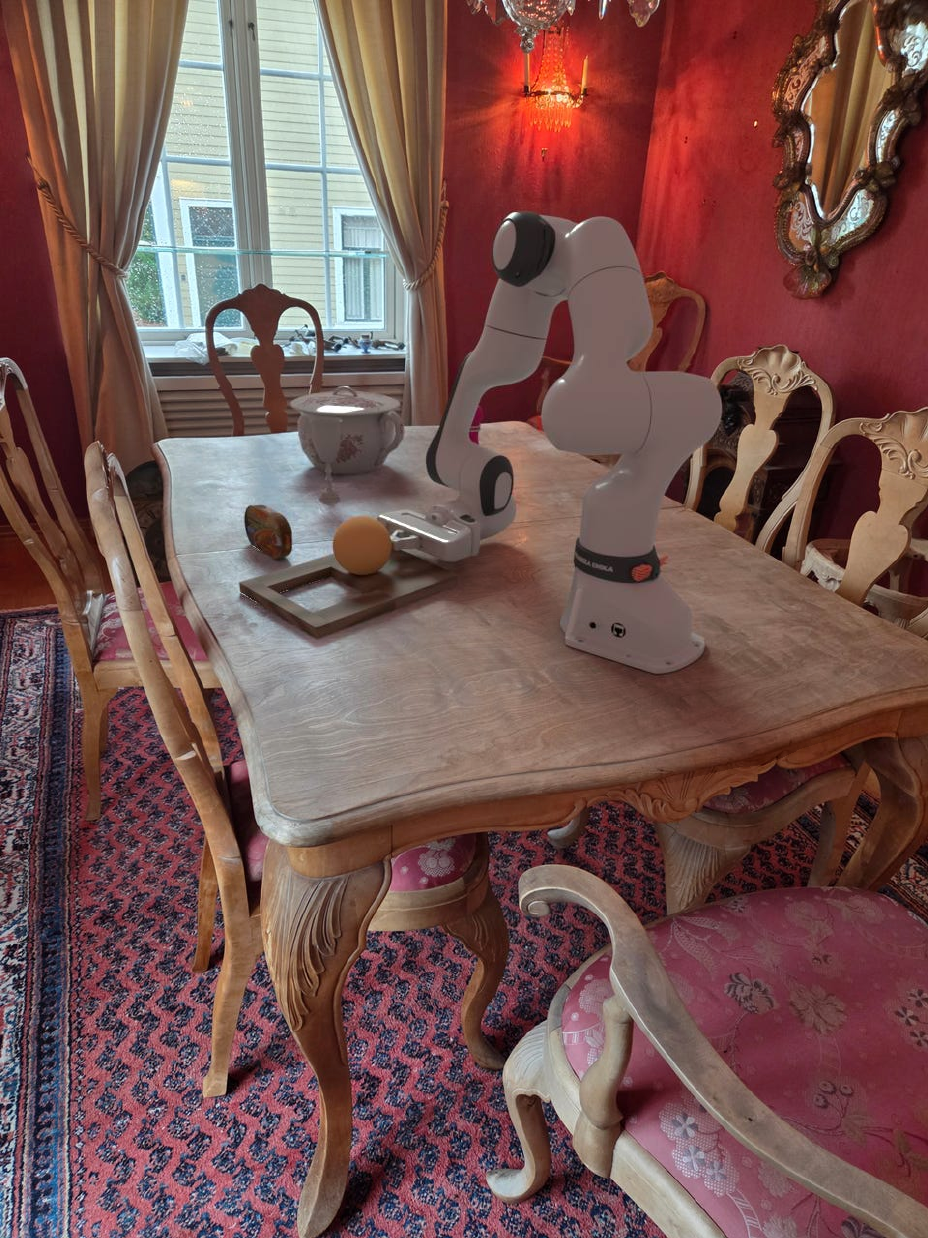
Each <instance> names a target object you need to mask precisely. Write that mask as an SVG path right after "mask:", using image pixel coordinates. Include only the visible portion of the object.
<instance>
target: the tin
mask: <svg viewBox="0 0 928 1238" xmlns="http://www.w3.org/2000/svg"><path fill="white" fill-rule="evenodd" d="M243 517H244V518H243V519H244V520H243V521H244V522H243V523H244V529H245V533H246V536H247V539H248V541H249V543H250V545H251V546H252V545H253V546H255V547H256V548H258V549H259V550H260V551H259V550H258V551H259V552H261V551H262V552H263V553H262V552H261V553H262V554H264V553H265V554H266V556H267V555H268V556H267V557H268V558H270V559H272V560H278V559H283V558H286V557H288V556H290V555H291V554H292V551H293V536H292V534H293V533H292V532H293V531H292V527H291V525H290V523H289V521H288V519H287V517H285V515H283V514H282V513H280V512H277V511H276V510H275V509H273V508H271V507H268V506H266V505H265V504H255V505H251V504H250V505H248V506H247V507H246V508H245V511H244V516H243ZM253 546H252V547H253ZM256 548H255V549H256ZM265 554H264V555H265Z"/></svg>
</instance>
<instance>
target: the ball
mask: <svg viewBox="0 0 928 1238" xmlns="http://www.w3.org/2000/svg"><path fill="white" fill-rule="evenodd" d="M391 549H392V543H391V538H390V535H389V533H388V531H387V529H386V528H385V527H384V526H383V525H382V524H381V523H380V522H379V521H377V519H375V518H373V517H370V516H364V515H358V516H353V517H351V518H349V519H347V520H345V521H344V522H342V523H341V524H340V525H339V526H338V527H337V529H336V531H335V533H334V535H333V539H332V551H333V554H334V555H335V558H336V560H337V561H338V563H339V564H340V565H341V566H342V567H343V568H344V569H345V570H347V571H349V572H351V573H353V574H357V575H368V574H372V573H374V572H376V571H378V570H380V569H381V568H382V567H383V566H384V565H385V564H386V562H387V561H388V559H389V557H390V554H391Z"/></svg>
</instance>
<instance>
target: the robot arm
mask: <svg viewBox="0 0 928 1238" xmlns="http://www.w3.org/2000/svg"><path fill="white" fill-rule="evenodd" d="M495 231H496V232H495V233H494V238H493V241H492V245H491V262H492V266H493V269H494V272H495V275H497V277H498V281H497V283H496V285H495V288H494V289H493V290H494V291H493V293H492V296H491V300H490V303H489V306H488V310H487V313H486V318H485V322H484V327H483V331H482V333H481V335H480V339H479V341H478V343H477V345H476V347H475V348H474V350H473V351H470V352H469V353H468V354H466V356H465V357H464V358H463V360H462V362H461V364H460V366H459V369H458V371H457V374H456V377H455V378H454V382H453V385H452V386H451V387H452V388H451V390H450V394H449V397H448V399H447V402H446V405H445V408H444V412H443V415H442V418H441V420H440V424H439V425H438V429H437V431H436V433H435V435H434V437H433V439H432V441H431V443H430V444H429V446H428V449H427V451H426V456H425V465H426V470H427V474H428V477H429V478H430V480H432V481H433V482H434V483H437V484H438V485H441V486H444V487H447V488H450V489H452V490H454V491H456V492H458V494H459V496H458V497H457V498H456V499H452V500H449V501H446V502H443V503H440V504H439V503H438V504H435V505H433V506H431V507H429V509H428V510H427V512H426V514H424V513H420V512H418V511H415V510H412V509H407V508H405V509H397V510H391V511H387V512H382V513H379V514H378V515H377V517H376V520H377V521H379V522H380V523H381V524H382V525H383V526H384V527H385V528H386V529H387V531H388V533H389V535H390V538H391V543H392V549H394V550H396V551H398V550H418V551H419V552H421V553H425V554H428V555H430V556H432V557H434V558H437V559H439V560H441V561H443V562H449V563H451V562H457V561H462V560H465V559H467V558H469V557H471V558H472V557H477V556H478V555H479V554H480V548H481V547H480V546H481V541H483V540H487V539H488V538H491V537H493V536H496V535H498V534H500V533H501V532H503V531H505V530H506V529H507V528H509V527H510V525H512V523H513V522H514V521H515V518H516V516H517V515H516V514H517V502H516V500H515V498H514V496H513V495H512V494H513V490H514V485H515V484H514V483H515V482H514V481H515V480H514V478H515V476H514V469H513V465H512V462H511V461H510V459H509V458H508V457H507V456H505V455H503V454H500V453H499V452H497V451H494V450H493V449H489V448H488V447H484V446H482V445H480V444H479V445H478V444H476V443H474V442H471V440H470V438H469V429H470V427H471V424H472V421H473V418H474V416H475V413H476V410H477V407H478V405H479V404H480V402H481V399H482V397H483V396H484V394H485V393H486V392H487V391H488V390H490V389H491V388H495V387H498V386H505V385H512V384H516V383H520V382H522V381H525V380H526V379H527V378H529V377H531V376H532V375H533V374H534V373H535V371H537V369H538V368H539V365H540V364H541V361H542V359H543V355H544V352H545V347H546V343H547V339H548V335H549V330H550V327H551V321H552V316H553V313H554V310H555V308H556V307H557V306H558V305H559V304H560V303H561V302H563V301H567V304H568V309H569V315H570V320H571V326H572V333H573V335H572V336H573V344H574V350H573V352H574V353H573V357H572V361H571V363H570V365H569V366H568V368H567V370H566V371H565V372H564V374H563V375H562V376H561V377H559V378H558V379H556V380H555V381H554V383H552V385H551V386H550V387H549V389H548V390H547V392H546V395H545V396H544V399H543V402H542V408H541V424H542V428H543V431H544V433H545V434H544V435H545V436H546V437H547V440H548V442H550V444H551V445H552V446H553V447H554V448H555V449H557V450H558V451H564V452H569V453H574V454H580V455H584V456H585V455H586V456H596V455H597V456H598V455H599V456H600V455H620V457H619V458H618V460H617V462H616V463H615V465H613V467H611V469H610V470H608V471H607V472H606V473H605V474H603V475H601V476H600V477H598V478H596V479H594V480H593V481H592V482H591V483H590V484H589V485H588V487H587V489H586V490H585V492H584V495H583V499H582V509H581V516H580V525H579V527H580V528H579V537H577V539H576V540H575V547H574V555H573V565H574V573H573V579H572V583H571V588H570V591H569V596H568V599H567V603H566V605H565V607H564V610H563V613H562V615H561V617H560V619H559V625H560V628H561V629H562V632H563V633H564V634H565V637H564V643H565V645H566V646H568V647H571V648H574V649H577V650H581V651H583V652H587V653H589V654H592V655H596V656H598V657H602V658H605V659H607V660H611V661H614V662H617V663H620V664H623V665H626V666H629V667H632V668H636V669H639V670H642V671H645V672H647V673H652V674H658V675H659V674H666V673H672V672H676V671H678V670H681V669H683V668H686V667H687V666H689V665H690V664H692V663H694V662H695V661H696V660H698V659H699V658H700V657H701V656H702V654H703V653H704V651H705V646H706V645H705V643H706V642H705V641H706V640H705V638H704V637H703V636H700V635H698V634H697V633H695V632H693V630H692V629H693V618H692V617H693V616H692V610H691V608H690V606H689V605H688V604H687V602H686V601H685V600H684V599H683V598H682V596H680V595H679V594H678V593H677V591H676V590H675V589H674V588H673V587H672V585H671V584H670V583H669V582H668V581H667V580H666V578H665V577H664V576H663V575H662V574H661V573H662V569H661V567H662V566H664V565H666V564H667V563H668V561H667V559H669V556H668V555H666V556H664V557H662V558H659V557H658V552H657V549H656V546H655V545H654V543H655V536H656V532H657V528H658V527H657V526H658V522H659V521H658V520H659V516H660V512H661V507H662V504H663V500H664V498H665V494H666V492H667V490H668V488H669V485H670V484H671V482H672V480H673V479H674V477H675V475H676V474H677V473H678V471H679V470H680V468H681V466H682V465H683V464H684V463H685V462H686V461H687V460H688V458H690V456H691V455H693V453H694V452H695V451H697V450H698V449H700V448H701V447H702V446H704V445H705V444H707V443H708V442H709V441H710V440H711V439H712V438H713V437H714V436H715V433H716V432H717V430H718V427H720V422H721V419H722V413H723V403H722V397H721V394H720V391H719V389H718V388H717V385H716V384H715V382H713V380H711V379H710V378H709V377H706V376H701V375H698V374H693V373H690V372H683V371H679V370H675V371H674V370H672V371H671V370H667V371H665V370H664V371H662V370H661V371H636V370H635V371H634V370H631V369H630V367H629V365H628V361H630V360H631V359H632V358H634V357H636V356H637V355H638V354H639V353H641V351H642V350H643V349H644V348H646V346H647V344H648V343H649V341H650V339H651V336H652V334H653V329H654V318H653V313H652V310H651V305H650V302H649V301H650V300H649V297H648V293H647V289H646V284H645V280H644V277H643V273H642V272H643V271H642V269H641V265H640V262H639V258H638V257H637V254H636V251H635V248H634V245H633V244H632V241H631V239H630V237H629V235H628V234H627V231H626V230H625V228H624V227H623V225H622V224H621V223H620V222H619V221H617V220H616V219H614V218H611V217H609V216H608V217H607V216H594V217H591V218H588V219H585V220H583V221H581V222H580V223H577V222H574V221H572V220H570V219H566V218H563V217H557V216H550V215H544V214H538V213H537V212H535V211H523V210H522V211H515V212H512V213H510V214H509V215H507V216H506V217H505V218H504V219H503V221H501V223H500V224H499V225H498V227H497V229H496V230H495Z"/></svg>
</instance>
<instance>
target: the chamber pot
mask: <svg viewBox="0 0 928 1238" xmlns="http://www.w3.org/2000/svg"><path fill="white" fill-rule="evenodd" d="M401 405H402V404H401V402H400V401H399V400H398V399H396V398H394V397H392V396H388V395H386V394H380V393H377V392H370V391H369V392H368V391H361V390H354V389H353V388H352V387H350V386H348V385H340V386H337V387H336V388H335V389H334V390H331V391H329V390H328V391H321V392H320V391H319V392H315V393H308V394H305V395H302V396H299V397H296V398H293V400H291V401H290V402H289V407H291V408H292V409H293V410H295V411H297V412H299V413H300V416H299V417H298V419H297V433H298V434H297V435H298V439H299V443H300V446H301V450H302V451H303V453H304V454H305V456H306V457H307V459H308V461H309V462H310V463H311V464H312V465H313V466H314V467H315V468H316V469H318V470H320V471H323V472H325V470H326V463H325V462H323V461H321V459H320V457H319V455H318V453H317V451H316V449H315V447H314V444H313V437H312V425H311V423H310V421H309V420H310V419H311V418H315V417H335V418H339V419H342V422H341V424H340V434H341V444H340V447H339V451H338V453H337V455H336V458H335V460H334V461H333V462H331V463H330V468H331V470H332V472H331V475H336V474H337V475H338V476H356V475H357V476H358V474H359V475H363V474H367V473H370V472H373V471H376V470H378V469H379V468H381V467H382V466H383V464H384V463H385V462H386V460H387V458H388V457H389V455H390V453H392V452H394V451H395V450H396V449H398V447H399V446H400V445H401V443H402V442H403V440H404V439H405V438H404V437H405V423H404V421H403V419H402V418H401V416H400V415H399V414H398V413H397V412H396V410H398V409H399V408H400V407H401Z"/></svg>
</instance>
